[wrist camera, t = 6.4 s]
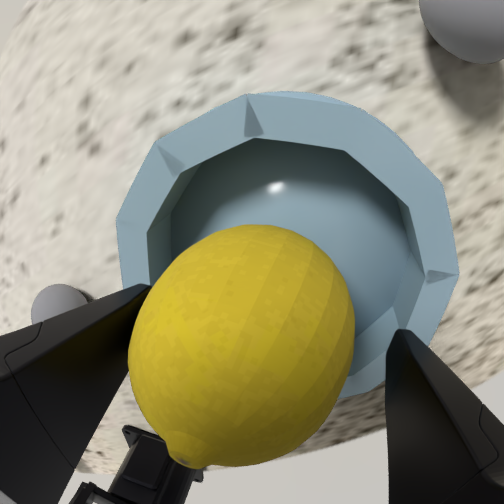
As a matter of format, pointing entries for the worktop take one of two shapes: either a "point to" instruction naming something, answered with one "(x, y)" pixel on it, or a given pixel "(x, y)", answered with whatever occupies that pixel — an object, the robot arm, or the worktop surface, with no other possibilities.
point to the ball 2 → (467, 27)
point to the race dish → (303, 208)
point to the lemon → (242, 347)
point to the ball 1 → (55, 302)
